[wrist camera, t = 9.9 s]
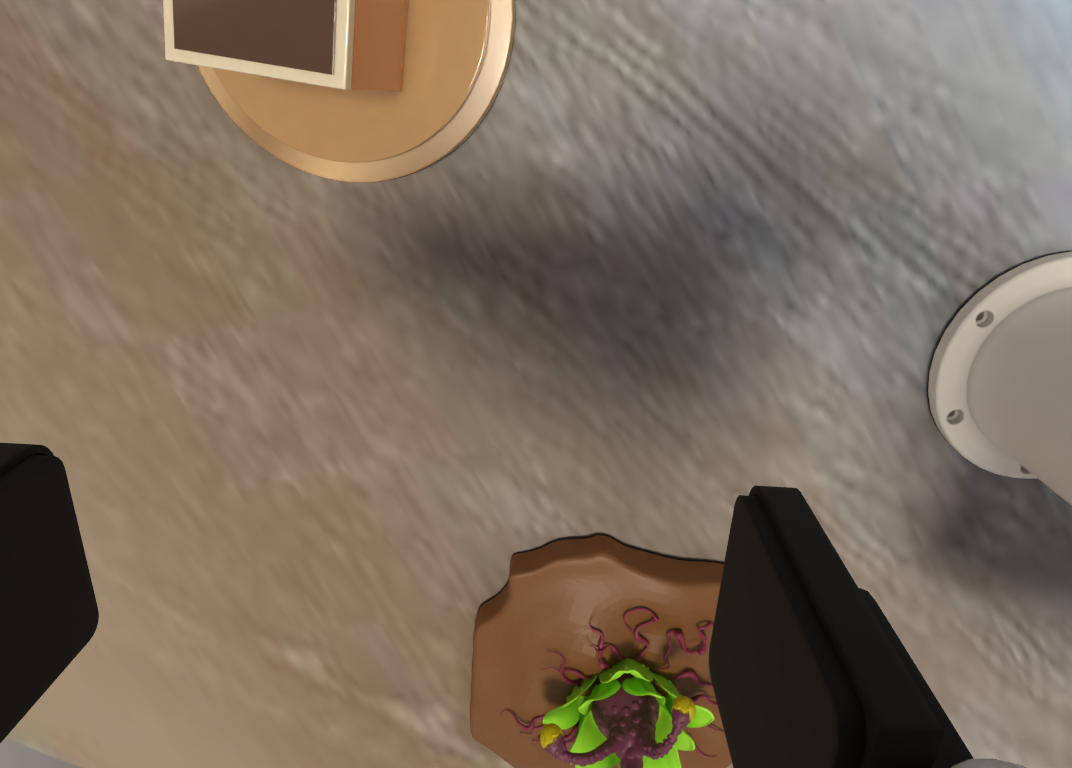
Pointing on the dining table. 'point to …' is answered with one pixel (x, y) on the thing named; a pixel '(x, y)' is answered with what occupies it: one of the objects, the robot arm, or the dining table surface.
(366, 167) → the turntable base
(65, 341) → the dining table surface
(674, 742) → the plant
